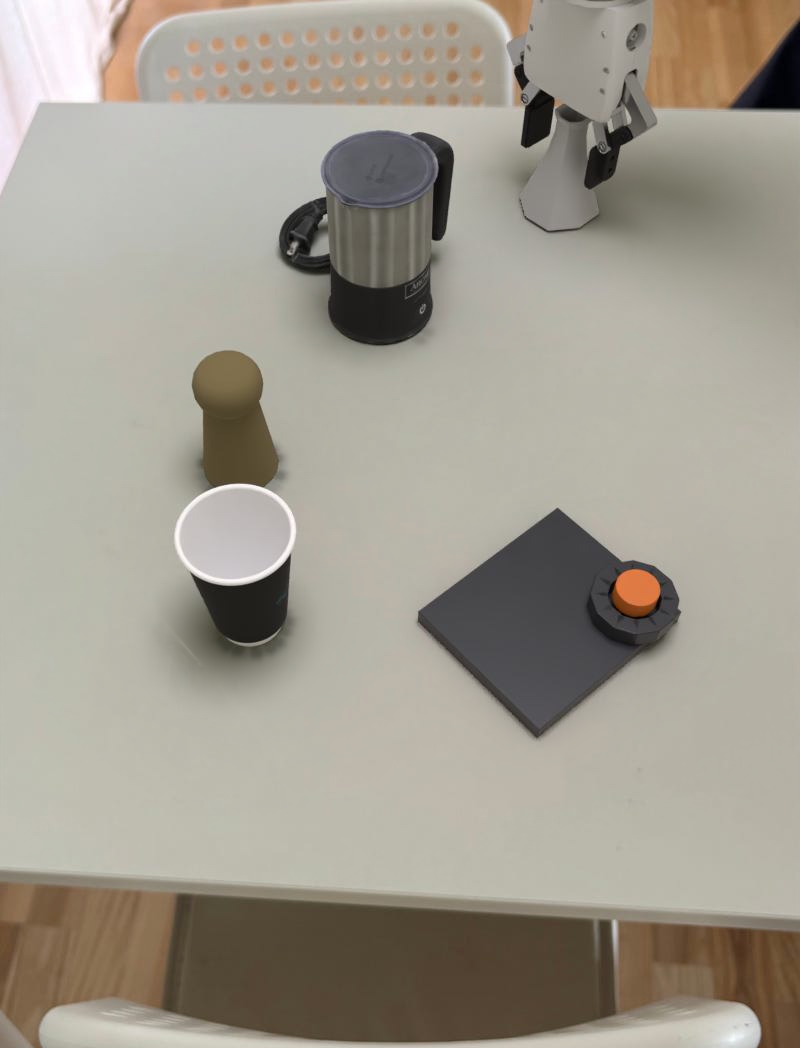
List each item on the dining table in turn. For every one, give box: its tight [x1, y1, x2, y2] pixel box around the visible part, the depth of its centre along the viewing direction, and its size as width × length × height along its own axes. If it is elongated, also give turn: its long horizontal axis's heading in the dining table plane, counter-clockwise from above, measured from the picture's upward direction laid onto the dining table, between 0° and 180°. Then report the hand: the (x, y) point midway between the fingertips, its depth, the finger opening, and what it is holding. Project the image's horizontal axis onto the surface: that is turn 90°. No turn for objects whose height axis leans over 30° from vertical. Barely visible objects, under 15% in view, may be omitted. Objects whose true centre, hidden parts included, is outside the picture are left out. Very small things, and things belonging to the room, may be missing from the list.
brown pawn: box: [191, 349, 279, 488], centre depth 83 cm, size 6×6×11 cm
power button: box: [612, 569, 660, 617], centre depth 76 cm, size 3×3×2 cm
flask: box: [519, 103, 600, 232], centre depth 99 cm, size 7×7×10 cm
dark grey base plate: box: [417, 507, 682, 739], centre depth 78 cm, size 14×12×3 cm
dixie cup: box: [173, 484, 297, 647], centre depth 75 cm, size 8×8×11 cm
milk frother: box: [278, 129, 455, 345], centre depth 93 cm, size 14×16×15 cm
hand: (566, 159), depth 99 cm, fingers open, 7 cm apart
